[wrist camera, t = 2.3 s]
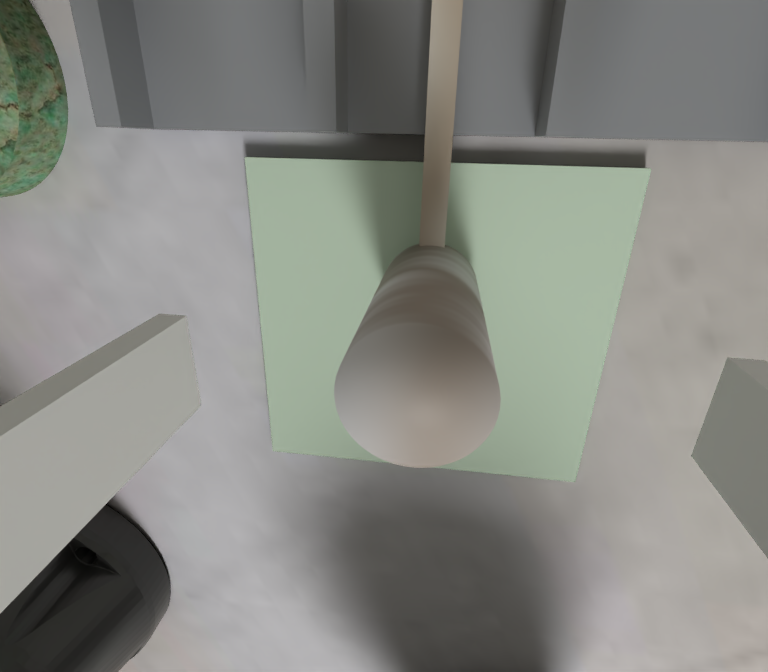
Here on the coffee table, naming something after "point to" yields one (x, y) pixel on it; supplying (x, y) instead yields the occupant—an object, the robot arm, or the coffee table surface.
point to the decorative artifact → (28, 100)
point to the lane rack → (411, 62)
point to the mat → (494, 278)
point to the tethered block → (424, 314)
